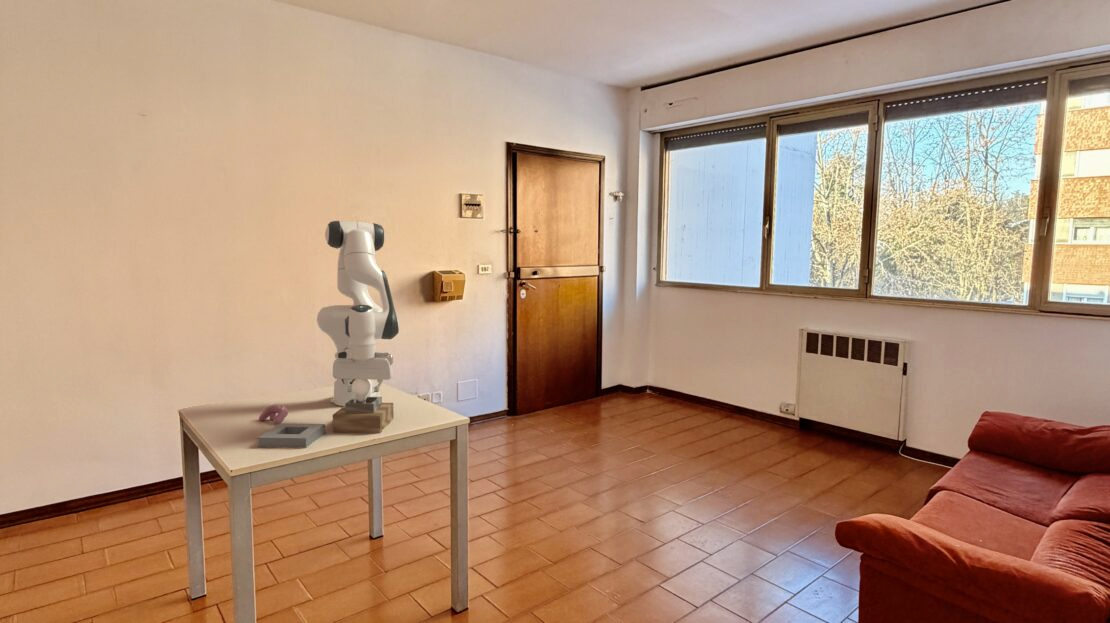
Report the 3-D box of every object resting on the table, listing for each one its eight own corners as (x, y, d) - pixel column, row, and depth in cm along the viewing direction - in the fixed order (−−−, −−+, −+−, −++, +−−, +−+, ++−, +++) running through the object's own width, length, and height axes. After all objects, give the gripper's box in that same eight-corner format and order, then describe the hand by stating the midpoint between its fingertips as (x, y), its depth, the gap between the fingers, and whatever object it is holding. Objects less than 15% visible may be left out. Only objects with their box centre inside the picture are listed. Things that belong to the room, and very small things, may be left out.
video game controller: (285, 427, 212) (292, 407, 214) (274, 424, 208) (282, 404, 210) (267, 422, 217) (274, 404, 219) (256, 420, 213) (264, 401, 215)
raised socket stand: (349, 418, 218) (349, 394, 217) (393, 418, 218) (393, 394, 217) (333, 432, 202) (332, 406, 201) (380, 432, 202) (379, 406, 201)
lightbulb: (348, 410, 207) (346, 379, 205) (359, 405, 213) (358, 375, 211) (364, 412, 205) (362, 380, 203) (375, 406, 211) (373, 376, 209)
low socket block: (280, 431, 201) (280, 423, 201) (325, 432, 201) (324, 423, 201) (258, 446, 187) (257, 437, 186) (306, 447, 186) (306, 438, 186)
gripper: (395, 351, 210) (395, 389, 211) (337, 350, 210) (338, 388, 212) (390, 354, 204) (390, 394, 205) (330, 353, 204) (331, 393, 205)
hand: (363, 391), depth 208 cm, fingers open, 8 cm apart
